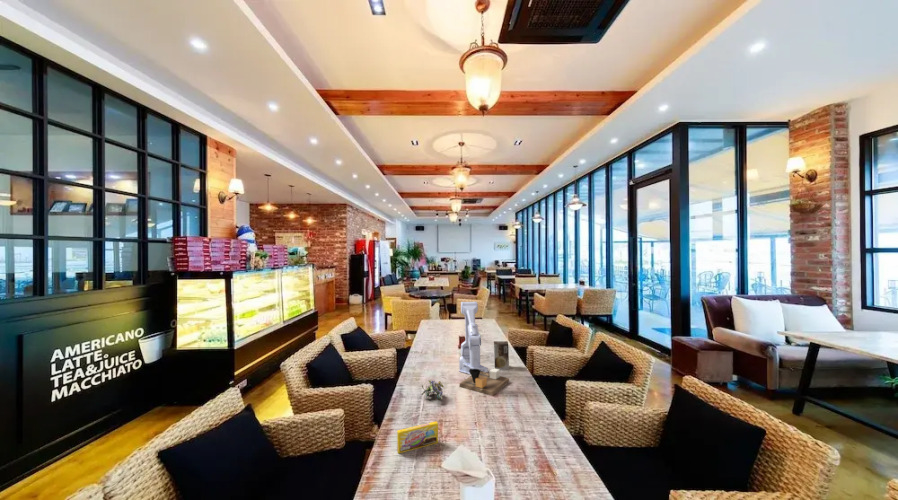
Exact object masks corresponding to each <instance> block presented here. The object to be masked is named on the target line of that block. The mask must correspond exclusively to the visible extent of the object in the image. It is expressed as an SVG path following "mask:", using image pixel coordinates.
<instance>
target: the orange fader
mask: <svg viewBox="0 0 898 500" xmlns="http://www.w3.org/2000/svg"><path fill="white" fill-rule="evenodd" d="M475 382H476V387H480V388H483V387H484V386H486V385H487V377H483V376H479V377H478V378H476V379H475Z"/></svg>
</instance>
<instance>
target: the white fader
mask: <svg viewBox="0 0 898 500" xmlns="http://www.w3.org/2000/svg"><path fill="white" fill-rule="evenodd" d="M489 374H490V378H492V379H497V378H499V377H500V376H501V369H495V367H494V368H491V369H490V370H489Z"/></svg>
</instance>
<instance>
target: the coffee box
mask: <svg viewBox="0 0 898 500" xmlns="http://www.w3.org/2000/svg"><path fill="white" fill-rule="evenodd" d="M509 355H510V351H509V342H508V341H507V340H505V341H504V340H501V341H500V340H499V341H498V340H496V341H493V359H494V360H493V362H494V363H493V364H494V365H493V366H494V368H495V369H500V370H510V357H509Z"/></svg>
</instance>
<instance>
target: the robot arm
mask: <svg viewBox="0 0 898 500" xmlns="http://www.w3.org/2000/svg"><path fill="white" fill-rule="evenodd" d="M478 310H479V306H478V302H477V301H461V302H460V312H461V315H464V331H465V332H464V333H465V336H464V337H465V338H464V339H465V340H464V341H463V342H462V343H461V344H460V355H461V356H460V357H459V360H458V361H459V363H458V365H459V370H458V372H461V373H464V374H469V375H470V376H472V379H473V383H476V382H475V379H476V378H478V377H479V374H480V372H485V373H488V371H489V367H486V366H484V365H482V364H481V346H482V337H481V335H480V333H479V326H478V324H476V314H478Z"/></svg>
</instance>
